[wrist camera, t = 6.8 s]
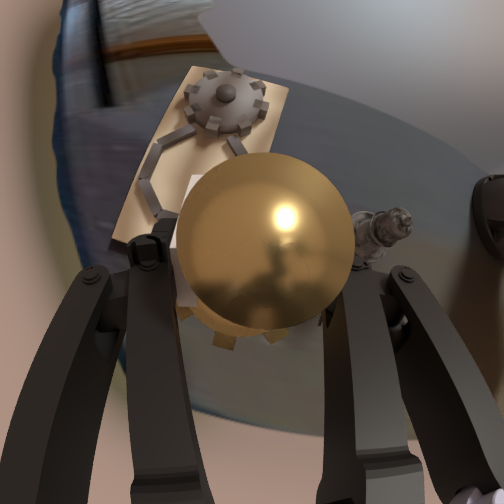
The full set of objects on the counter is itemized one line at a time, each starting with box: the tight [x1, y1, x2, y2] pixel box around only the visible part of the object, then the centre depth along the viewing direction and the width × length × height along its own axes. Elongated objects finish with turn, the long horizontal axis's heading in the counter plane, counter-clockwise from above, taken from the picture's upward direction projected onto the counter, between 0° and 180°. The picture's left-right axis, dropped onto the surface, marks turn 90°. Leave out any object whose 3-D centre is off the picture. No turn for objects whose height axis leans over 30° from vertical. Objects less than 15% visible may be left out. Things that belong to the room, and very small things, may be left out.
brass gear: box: [175, 152, 355, 350], centre depth 12 cm, size 9×9×12 cm
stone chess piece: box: [351, 207, 413, 263], centre depth 27 cm, size 6×6×12 cm
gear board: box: [112, 66, 289, 244], centre depth 31 cm, size 14×26×4 cm, turn 164°
